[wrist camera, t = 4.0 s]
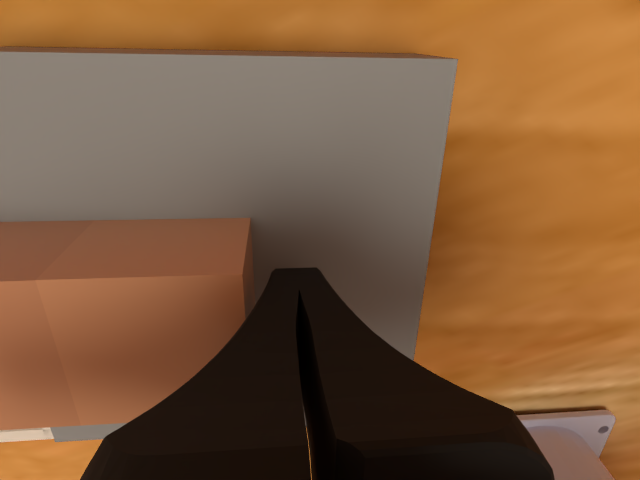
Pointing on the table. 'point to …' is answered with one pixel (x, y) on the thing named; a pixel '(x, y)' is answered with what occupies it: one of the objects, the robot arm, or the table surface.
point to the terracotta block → (31, 327)
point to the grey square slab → (241, 158)
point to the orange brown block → (145, 308)
